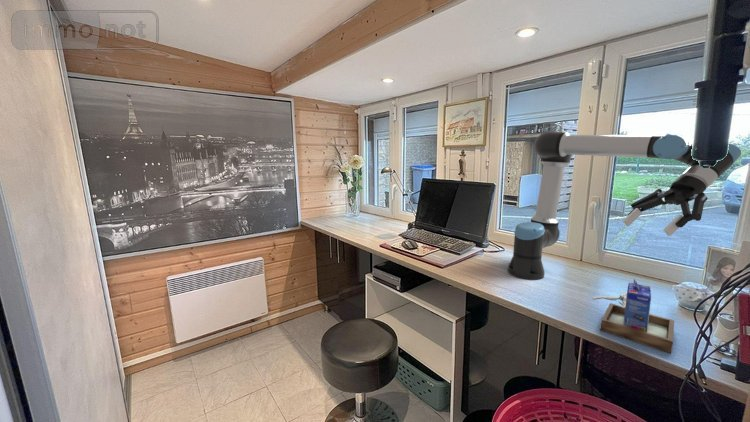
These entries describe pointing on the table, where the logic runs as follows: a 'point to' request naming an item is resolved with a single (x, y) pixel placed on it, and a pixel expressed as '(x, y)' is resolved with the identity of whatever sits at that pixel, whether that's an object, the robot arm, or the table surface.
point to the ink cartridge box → (637, 306)
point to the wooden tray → (655, 336)
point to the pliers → (614, 298)
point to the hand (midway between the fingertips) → (644, 228)
